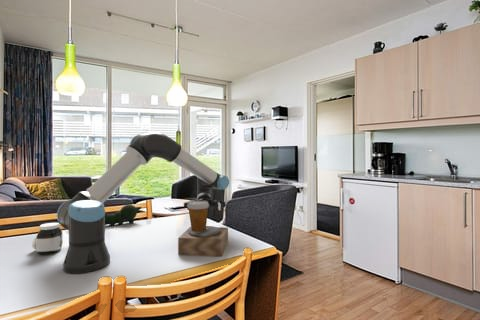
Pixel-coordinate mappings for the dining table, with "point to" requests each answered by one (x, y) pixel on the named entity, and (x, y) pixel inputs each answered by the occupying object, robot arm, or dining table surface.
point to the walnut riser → (203, 242)
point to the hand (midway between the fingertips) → (205, 208)
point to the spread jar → (48, 239)
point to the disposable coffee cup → (198, 215)
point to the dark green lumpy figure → (122, 215)
